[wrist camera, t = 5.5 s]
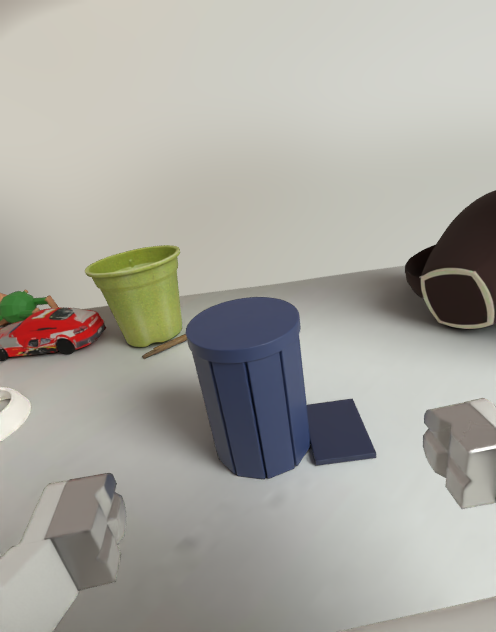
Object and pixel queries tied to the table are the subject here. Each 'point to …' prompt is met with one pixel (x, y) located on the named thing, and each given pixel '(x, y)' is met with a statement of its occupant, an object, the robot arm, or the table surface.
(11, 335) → the race car
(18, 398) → the hook
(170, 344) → the stick
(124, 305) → the plant pot
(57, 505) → the robot arm
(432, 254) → the mug
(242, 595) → the table surface
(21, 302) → the figurine
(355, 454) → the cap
